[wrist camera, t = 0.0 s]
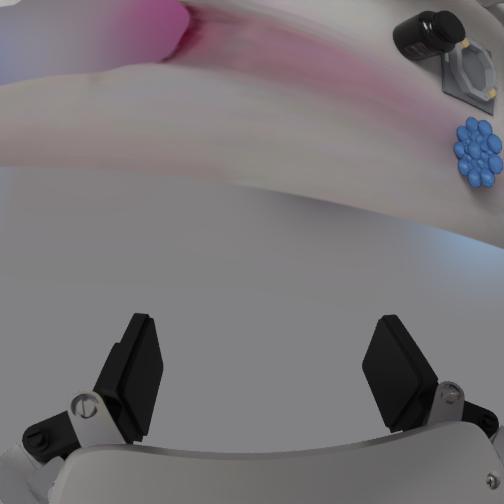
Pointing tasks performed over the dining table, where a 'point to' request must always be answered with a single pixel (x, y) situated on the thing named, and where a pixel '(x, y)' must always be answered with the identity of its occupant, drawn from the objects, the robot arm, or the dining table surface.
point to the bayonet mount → (470, 74)
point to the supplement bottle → (428, 34)
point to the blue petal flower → (478, 152)
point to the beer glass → (489, 2)
